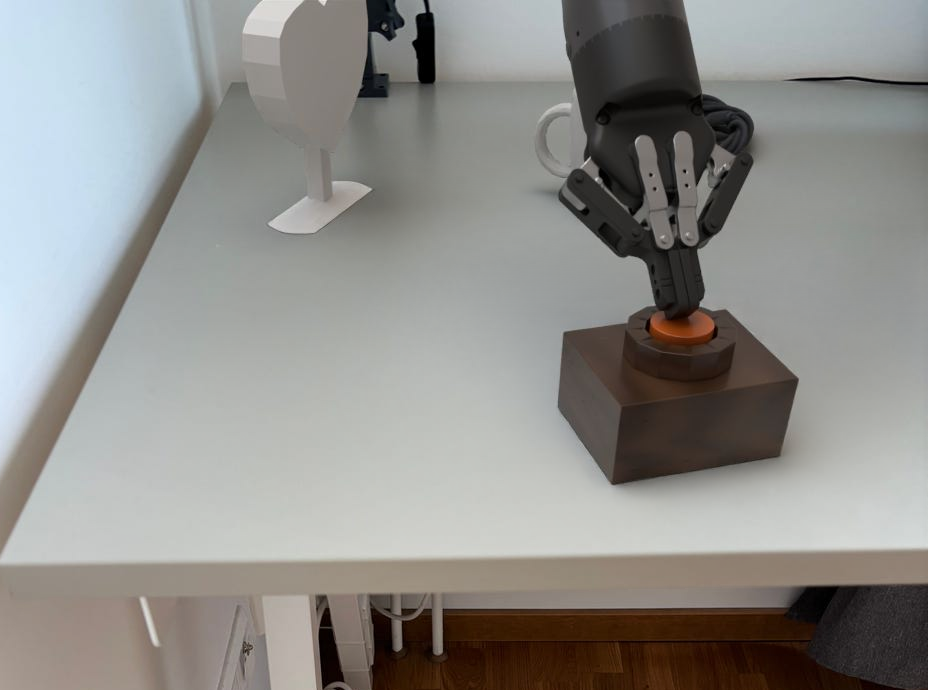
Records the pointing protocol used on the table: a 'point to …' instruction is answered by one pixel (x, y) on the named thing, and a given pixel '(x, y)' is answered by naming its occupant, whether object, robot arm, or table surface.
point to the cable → (728, 123)
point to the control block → (673, 397)
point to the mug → (575, 141)
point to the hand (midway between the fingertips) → (683, 313)
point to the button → (682, 329)
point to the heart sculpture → (308, 91)
